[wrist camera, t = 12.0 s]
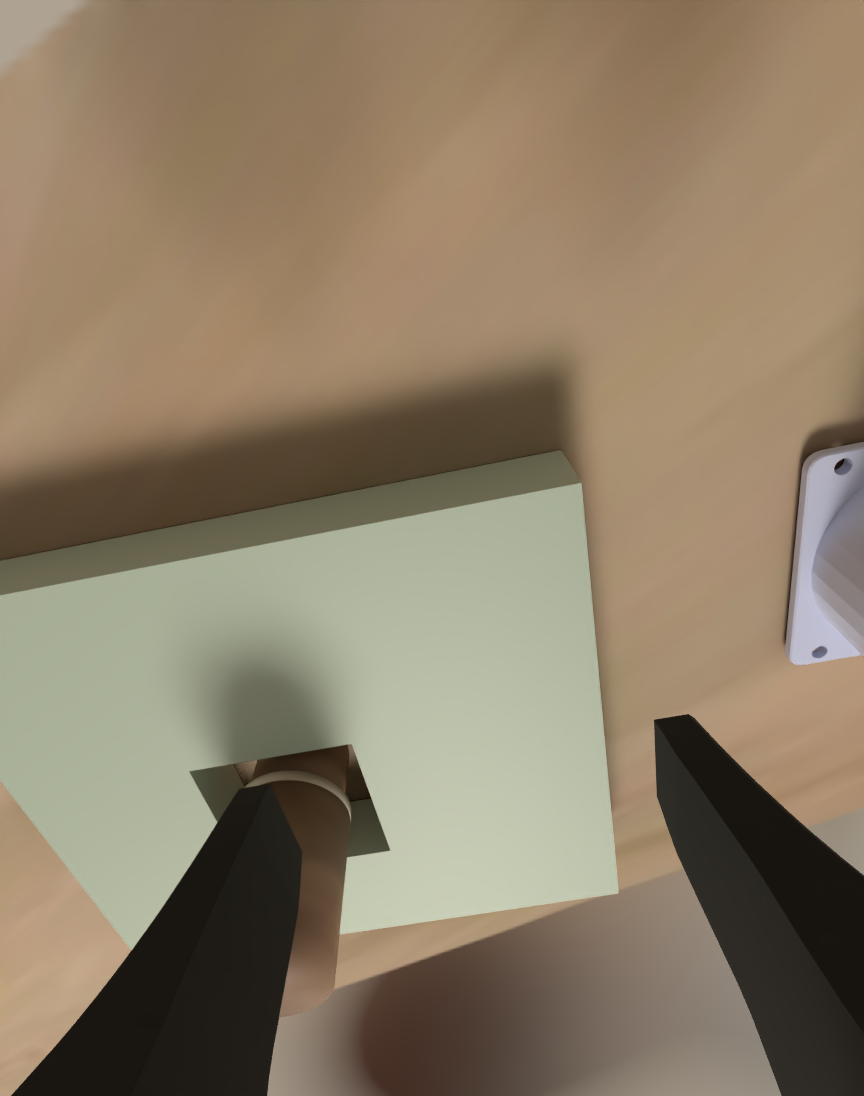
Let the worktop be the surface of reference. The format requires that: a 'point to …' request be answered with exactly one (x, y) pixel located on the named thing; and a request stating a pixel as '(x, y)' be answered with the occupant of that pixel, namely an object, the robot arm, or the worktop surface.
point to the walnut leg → (313, 864)
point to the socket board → (324, 692)
